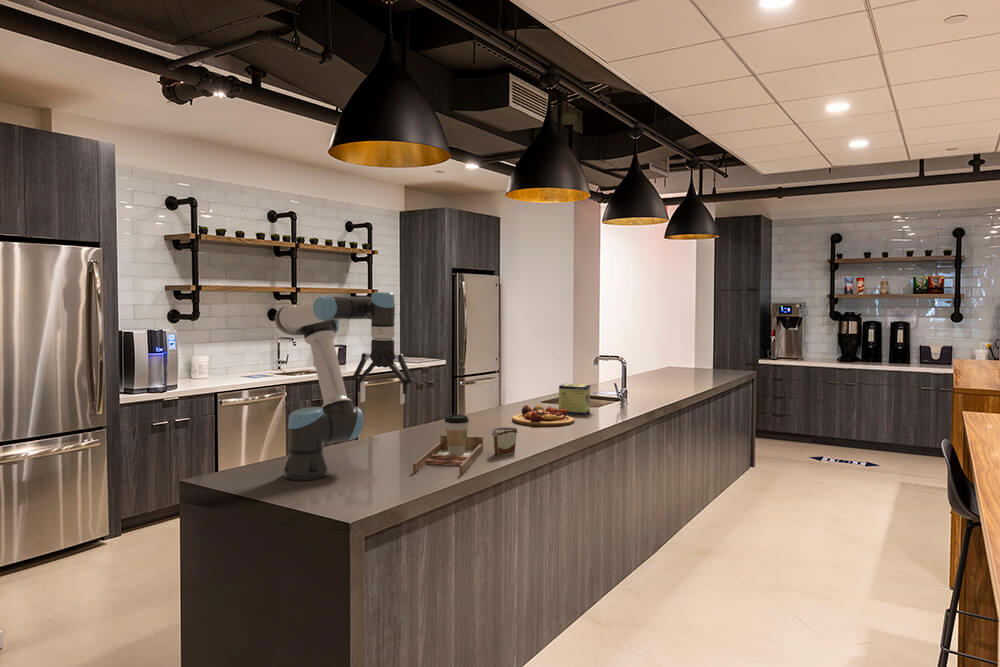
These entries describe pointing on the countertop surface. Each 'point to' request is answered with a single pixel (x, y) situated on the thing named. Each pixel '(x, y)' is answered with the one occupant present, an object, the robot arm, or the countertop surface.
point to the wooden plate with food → (543, 416)
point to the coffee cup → (456, 433)
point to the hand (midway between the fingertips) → (382, 402)
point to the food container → (504, 440)
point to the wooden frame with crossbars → (471, 453)
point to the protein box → (575, 398)
